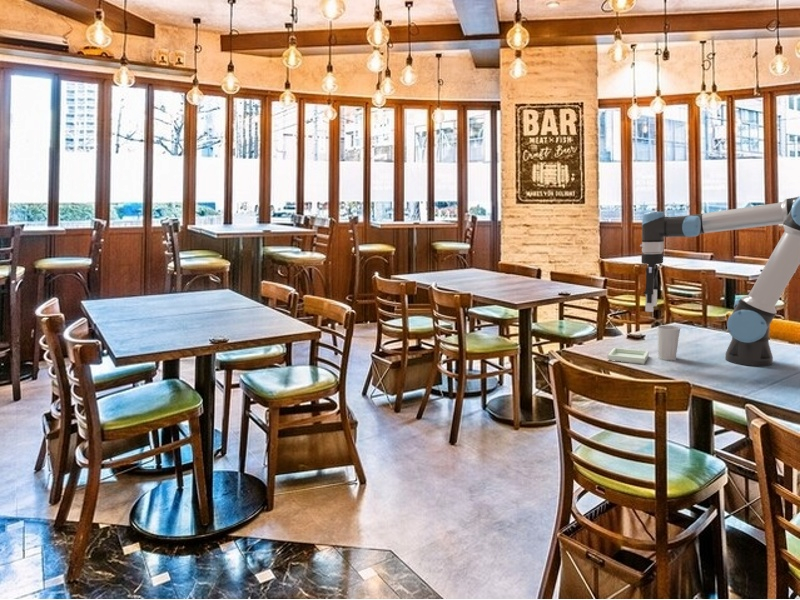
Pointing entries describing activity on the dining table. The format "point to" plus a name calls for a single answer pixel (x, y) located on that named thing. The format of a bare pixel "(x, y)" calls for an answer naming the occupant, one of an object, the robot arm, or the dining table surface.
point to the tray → (628, 355)
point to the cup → (667, 341)
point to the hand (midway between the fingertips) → (651, 308)
